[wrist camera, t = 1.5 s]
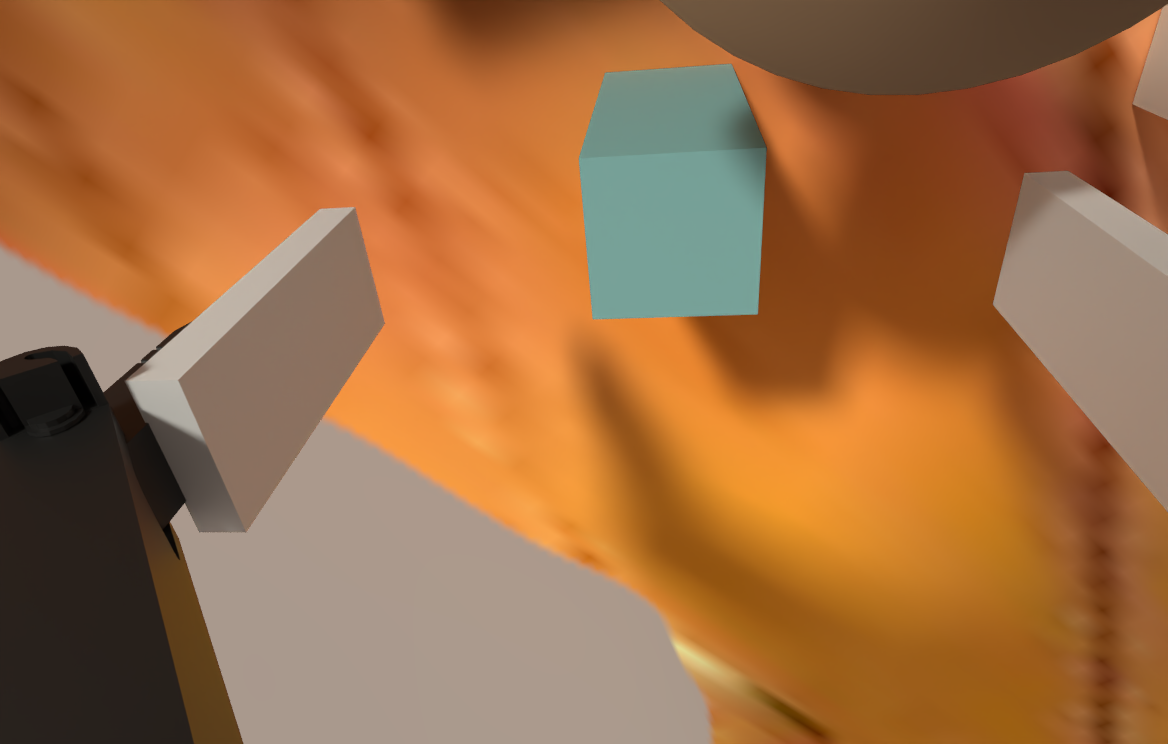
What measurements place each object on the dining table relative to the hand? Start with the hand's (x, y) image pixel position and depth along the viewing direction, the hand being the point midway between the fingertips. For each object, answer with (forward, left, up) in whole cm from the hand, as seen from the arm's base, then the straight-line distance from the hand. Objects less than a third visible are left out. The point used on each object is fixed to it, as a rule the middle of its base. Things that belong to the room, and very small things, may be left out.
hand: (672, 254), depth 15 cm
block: (0, 0, -8) cm, 8 cm away
